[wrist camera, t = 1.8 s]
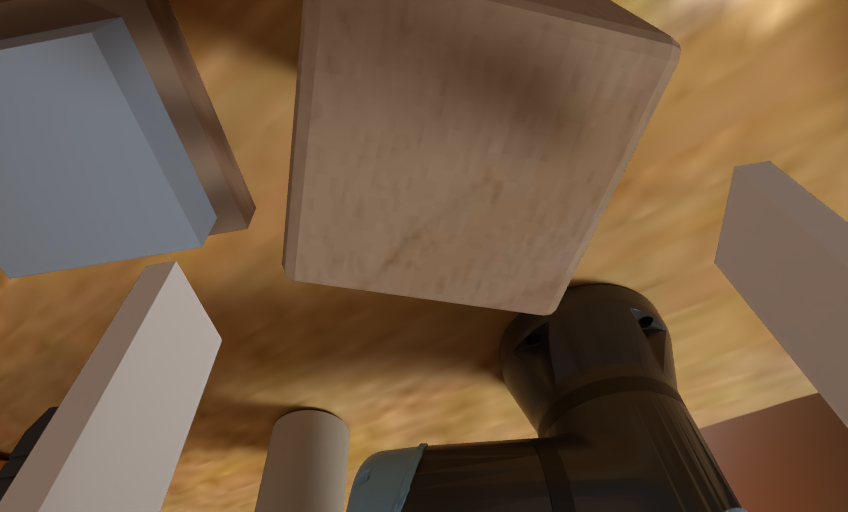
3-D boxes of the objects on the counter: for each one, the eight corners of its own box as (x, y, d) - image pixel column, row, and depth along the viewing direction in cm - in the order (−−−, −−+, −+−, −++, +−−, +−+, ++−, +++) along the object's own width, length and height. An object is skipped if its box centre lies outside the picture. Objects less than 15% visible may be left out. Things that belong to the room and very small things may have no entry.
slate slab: (217, 217, 36) (201, 247, 33) (38, 247, 37) (9, 278, 34) (121, 16, 28) (91, 32, 25) (-102, 59, 29) (-155, 79, 26)
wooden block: (532, -50, 30) (695, 44, 13) (482, 117, 35) (555, 322, 19) (356, -95, 28) (304, -50, 12) (334, 87, 34) (278, 284, 18)
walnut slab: (258, 203, 39) (247, 228, 36) (58, 237, 40) (33, 265, 37) (158, -35, 30) (134, -25, 27) (-100, 18, 31) (-149, 33, 28)
